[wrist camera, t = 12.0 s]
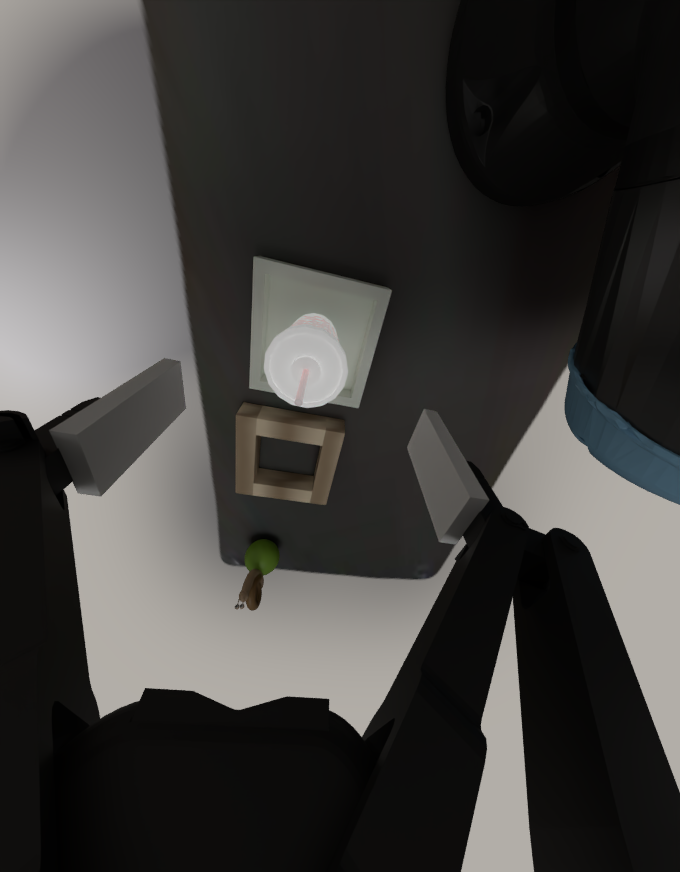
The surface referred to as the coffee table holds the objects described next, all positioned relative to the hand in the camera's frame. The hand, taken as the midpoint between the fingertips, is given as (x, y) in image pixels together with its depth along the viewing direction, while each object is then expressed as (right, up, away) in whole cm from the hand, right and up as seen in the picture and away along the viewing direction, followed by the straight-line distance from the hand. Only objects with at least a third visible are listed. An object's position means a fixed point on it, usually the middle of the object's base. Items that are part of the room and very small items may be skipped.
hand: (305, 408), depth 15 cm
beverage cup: (-1, +8, +12) cm, 15 cm away
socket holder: (-5, -3, +21) cm, 22 cm away
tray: (-1, +9, +13) cm, 15 cm away
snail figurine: (-11, -19, +32) cm, 39 cm away
